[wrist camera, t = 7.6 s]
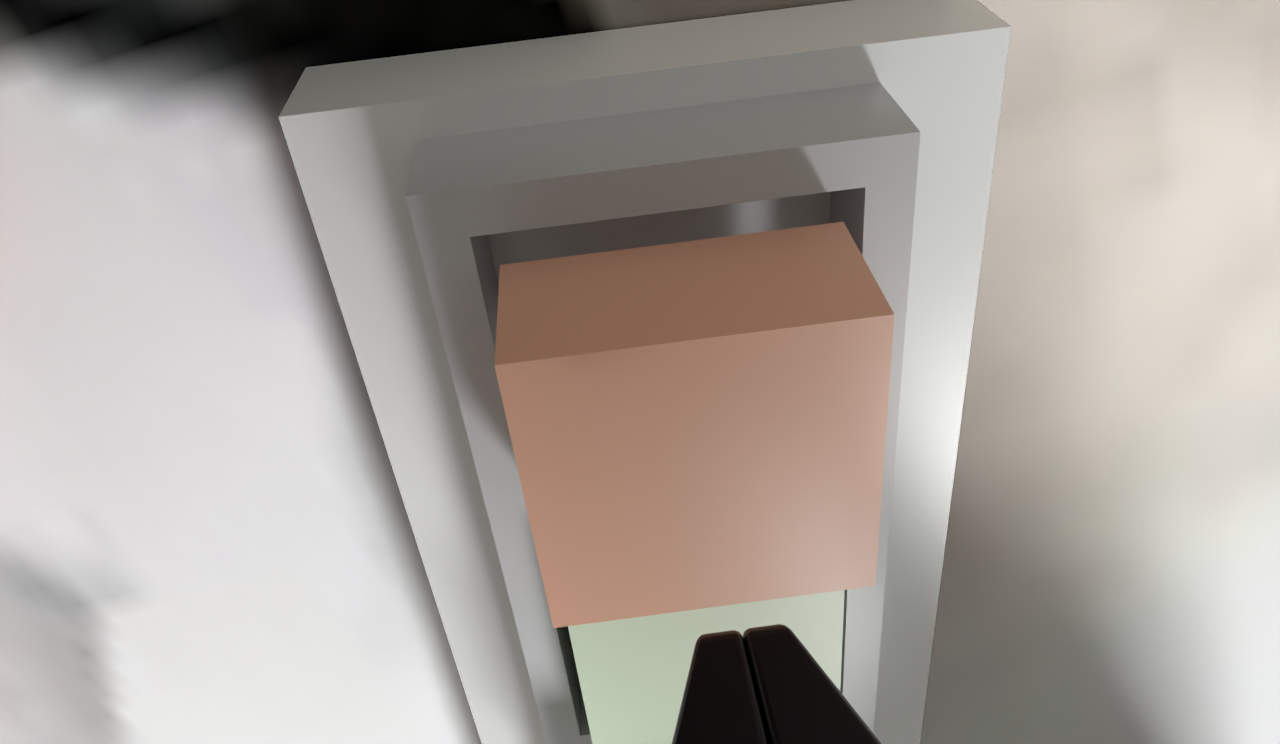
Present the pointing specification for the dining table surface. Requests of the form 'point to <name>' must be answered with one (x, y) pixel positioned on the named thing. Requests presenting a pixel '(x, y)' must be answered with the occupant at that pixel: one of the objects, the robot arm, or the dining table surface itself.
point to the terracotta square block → (698, 420)
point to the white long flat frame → (638, 217)
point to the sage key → (682, 659)
